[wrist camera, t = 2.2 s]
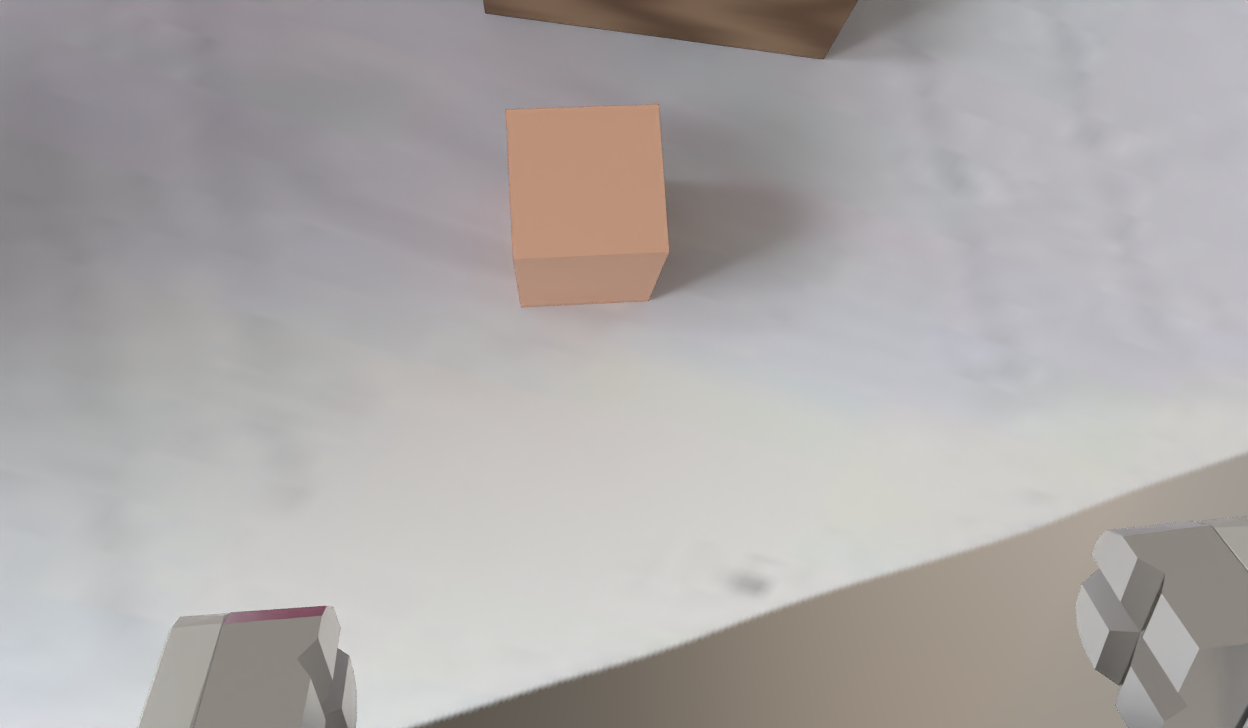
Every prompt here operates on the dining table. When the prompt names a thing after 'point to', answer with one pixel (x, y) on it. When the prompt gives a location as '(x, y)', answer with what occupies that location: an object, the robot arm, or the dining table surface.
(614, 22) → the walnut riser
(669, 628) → the dining table surface
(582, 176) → the terracotta block
